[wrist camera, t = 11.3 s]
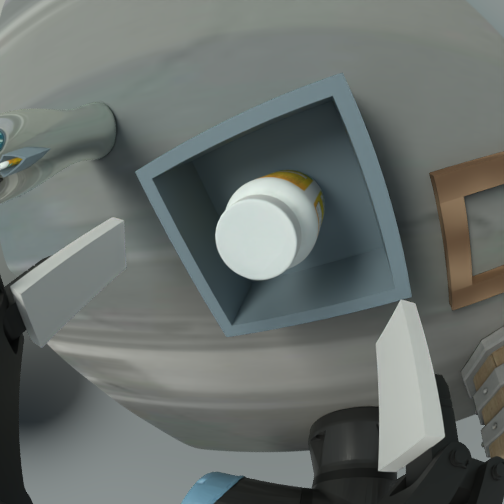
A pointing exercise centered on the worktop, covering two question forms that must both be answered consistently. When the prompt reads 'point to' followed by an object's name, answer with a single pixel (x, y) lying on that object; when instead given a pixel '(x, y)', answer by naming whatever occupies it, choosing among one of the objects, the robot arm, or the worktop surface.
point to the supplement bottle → (270, 224)
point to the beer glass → (50, 144)
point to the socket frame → (465, 227)
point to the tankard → (488, 390)
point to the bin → (333, 224)
